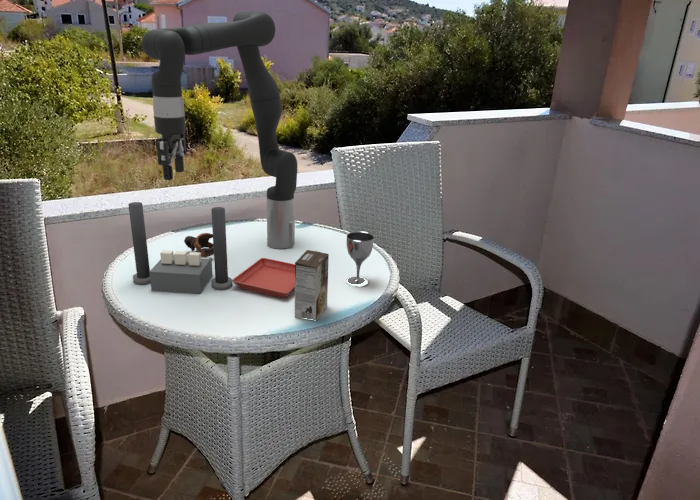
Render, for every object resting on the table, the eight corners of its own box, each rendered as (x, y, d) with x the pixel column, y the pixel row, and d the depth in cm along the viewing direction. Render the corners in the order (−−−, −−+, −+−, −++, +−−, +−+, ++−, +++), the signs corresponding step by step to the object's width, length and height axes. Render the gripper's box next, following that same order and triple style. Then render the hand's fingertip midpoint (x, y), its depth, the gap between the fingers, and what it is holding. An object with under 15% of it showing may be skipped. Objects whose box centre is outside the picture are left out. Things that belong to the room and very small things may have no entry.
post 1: (158, 276, 155) (150, 201, 145) (150, 285, 149) (141, 208, 140) (138, 275, 155) (129, 200, 146) (129, 284, 149) (119, 206, 140)
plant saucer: (287, 303, 144) (287, 292, 143) (231, 290, 150) (230, 279, 149) (313, 277, 160) (313, 268, 159) (262, 266, 166) (261, 257, 164)
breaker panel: (212, 275, 157) (211, 256, 155) (200, 293, 146) (199, 274, 144) (167, 272, 157) (165, 253, 155) (151, 290, 146) (149, 270, 144)
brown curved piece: (222, 249, 177) (224, 234, 171) (214, 270, 171) (216, 255, 165) (186, 239, 176) (188, 224, 169) (178, 260, 169) (179, 245, 163)
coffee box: (306, 302, 145) (307, 249, 138) (327, 306, 143) (329, 252, 137) (293, 317, 137) (293, 262, 130) (316, 322, 135) (317, 266, 129)
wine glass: (373, 279, 160) (377, 234, 155) (365, 289, 153) (369, 243, 148) (349, 274, 163) (351, 229, 157) (340, 284, 156) (343, 238, 150)
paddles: (202, 262, 150) (201, 252, 149) (200, 265, 148) (199, 255, 147) (162, 260, 150) (161, 250, 149) (160, 263, 148) (159, 252, 147)
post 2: (234, 281, 154) (231, 206, 145) (229, 290, 149) (226, 213, 140) (214, 280, 154) (210, 205, 145) (208, 289, 149) (204, 211, 140)
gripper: (173, 119, 126) (179, 183, 133) (192, 111, 139) (196, 170, 146) (143, 117, 126) (150, 181, 133) (165, 109, 140) (170, 168, 146)
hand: (174, 175), depth 139 cm, fingers open, 8 cm apart
